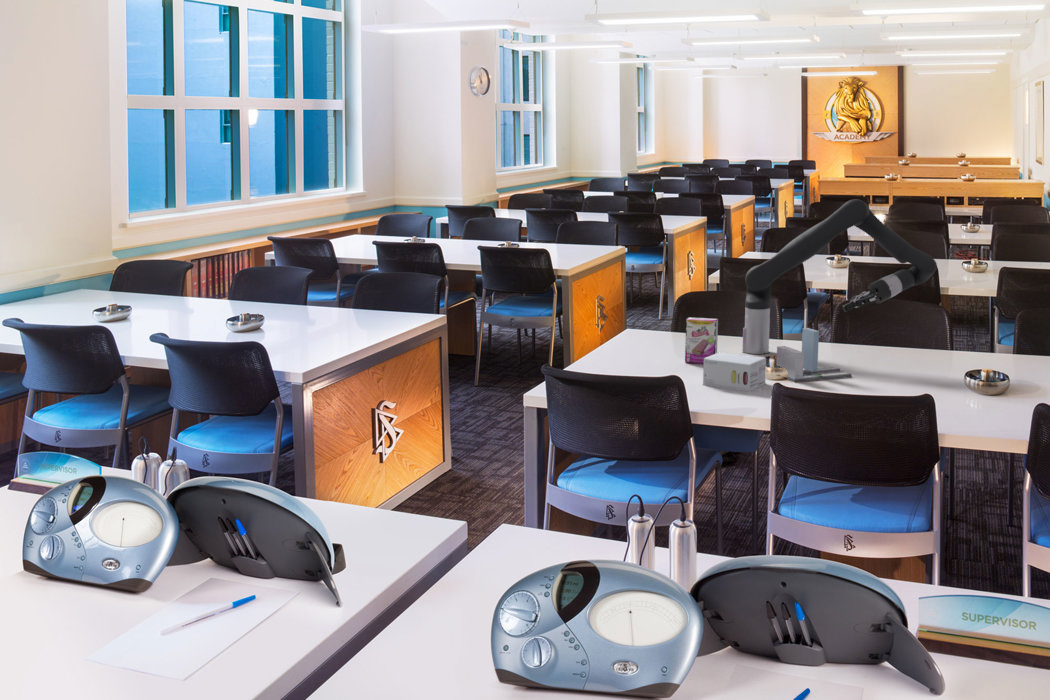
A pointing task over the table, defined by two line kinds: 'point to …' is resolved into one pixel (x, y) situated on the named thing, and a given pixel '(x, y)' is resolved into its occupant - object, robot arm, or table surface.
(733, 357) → the supplement box
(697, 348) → the candy bar box
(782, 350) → the grey bookend stand
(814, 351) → the light blue flat block
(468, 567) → the table surface
